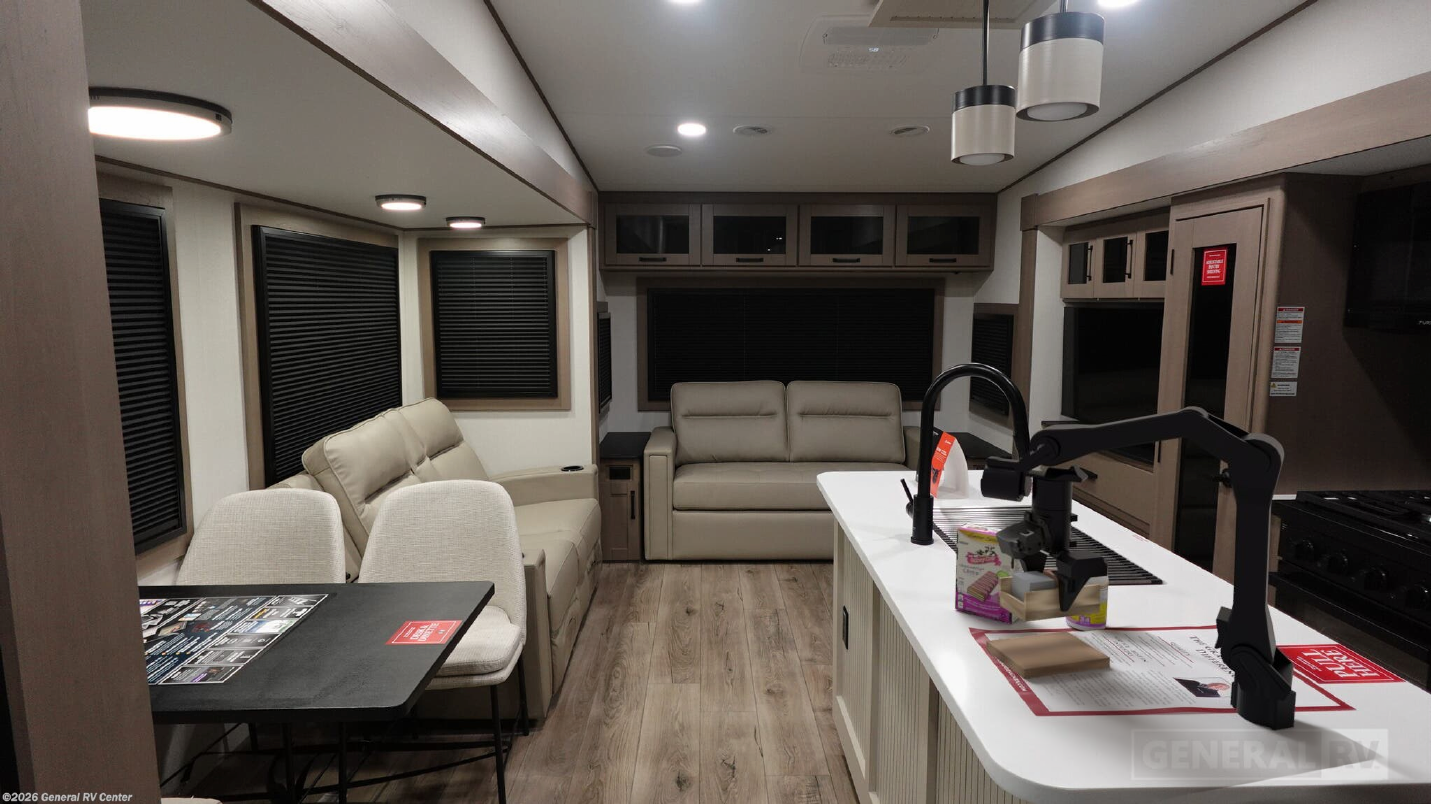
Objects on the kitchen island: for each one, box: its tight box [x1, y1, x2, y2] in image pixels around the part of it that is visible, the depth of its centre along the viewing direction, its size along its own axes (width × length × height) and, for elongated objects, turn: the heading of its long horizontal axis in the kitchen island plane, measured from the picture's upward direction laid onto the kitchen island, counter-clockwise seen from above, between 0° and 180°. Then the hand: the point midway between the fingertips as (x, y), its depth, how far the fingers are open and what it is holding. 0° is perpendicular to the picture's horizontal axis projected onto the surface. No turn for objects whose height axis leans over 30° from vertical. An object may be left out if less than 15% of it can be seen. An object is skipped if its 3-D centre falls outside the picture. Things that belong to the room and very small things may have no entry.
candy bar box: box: [954, 522, 1023, 625], centre depth 137 cm, size 11×5×16 cm, turn 47°
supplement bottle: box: [1065, 575, 1110, 632], centre depth 132 cm, size 7×7×13 cm
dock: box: [985, 630, 1111, 680], centre depth 117 cm, size 10×15×3 cm, turn 102°
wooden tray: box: [998, 573, 1100, 623], centre depth 116 cm, size 13×7×4 cm, turn 102°
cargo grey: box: [1012, 571, 1055, 603], centre depth 115 cm, size 4×4×4 cm
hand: (1048, 602), depth 116 cm, fingers closed on wooden tray, 7 cm apart
